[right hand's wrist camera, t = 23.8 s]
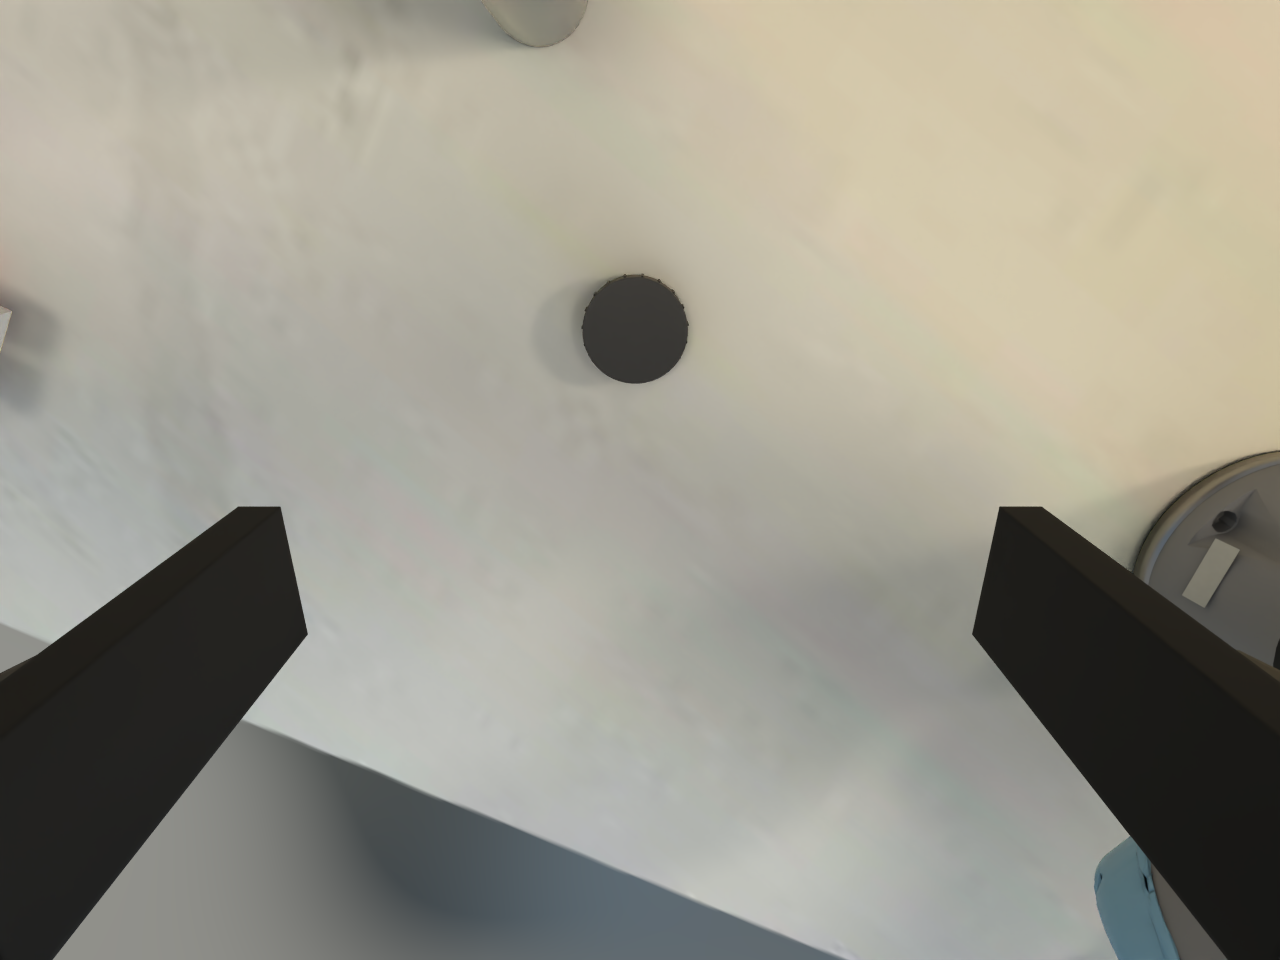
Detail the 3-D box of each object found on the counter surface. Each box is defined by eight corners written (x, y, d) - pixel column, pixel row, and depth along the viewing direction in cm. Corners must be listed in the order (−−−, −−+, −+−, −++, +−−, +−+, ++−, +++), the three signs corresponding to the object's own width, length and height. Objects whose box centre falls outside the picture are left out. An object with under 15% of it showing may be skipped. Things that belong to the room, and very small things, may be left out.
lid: (562, 332, 38) (559, 337, 37) (629, 249, 37) (629, 251, 35) (640, 398, 40) (640, 405, 38) (708, 321, 38) (711, 326, 37)
